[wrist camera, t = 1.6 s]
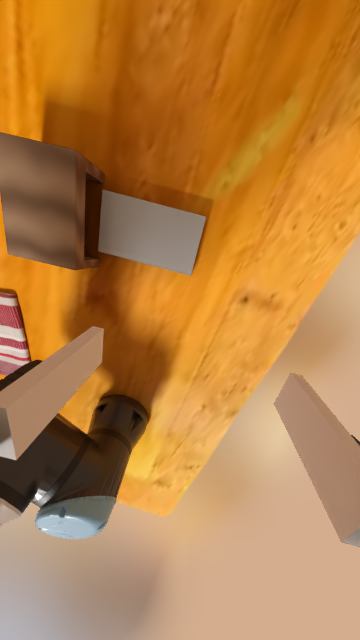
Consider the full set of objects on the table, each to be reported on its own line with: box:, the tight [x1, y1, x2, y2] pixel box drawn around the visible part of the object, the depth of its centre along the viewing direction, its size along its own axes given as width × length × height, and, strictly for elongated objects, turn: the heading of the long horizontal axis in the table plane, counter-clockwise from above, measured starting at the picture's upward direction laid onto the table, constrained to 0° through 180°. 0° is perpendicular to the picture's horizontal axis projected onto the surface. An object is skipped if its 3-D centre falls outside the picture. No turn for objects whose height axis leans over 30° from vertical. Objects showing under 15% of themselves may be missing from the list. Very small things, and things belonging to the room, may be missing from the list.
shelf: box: [0, 132, 104, 270], centre depth 31 cm, size 16×12×8 cm
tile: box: [98, 189, 206, 276], centre depth 34 cm, size 10×18×3 cm, turn 76°
